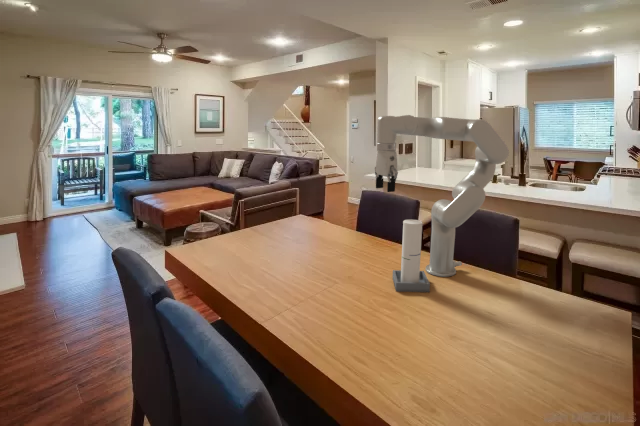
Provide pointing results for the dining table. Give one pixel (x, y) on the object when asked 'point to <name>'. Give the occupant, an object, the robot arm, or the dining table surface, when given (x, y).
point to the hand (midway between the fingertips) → (385, 189)
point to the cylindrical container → (411, 250)
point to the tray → (411, 283)
